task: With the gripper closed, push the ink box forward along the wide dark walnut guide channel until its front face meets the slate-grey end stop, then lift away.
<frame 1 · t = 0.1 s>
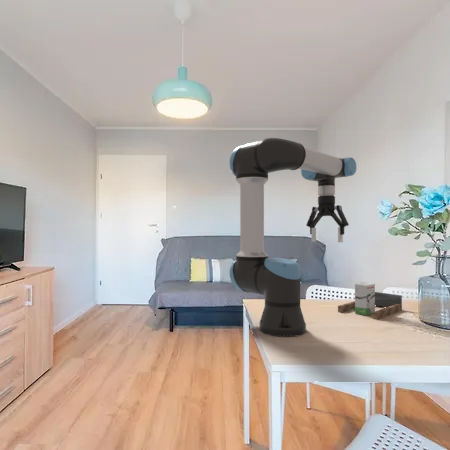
hand: (326, 241, 155), 28 cm above the table, fingers open, 13 cm apart
ink box: (365, 313, 136), on the table
guide channel: (369, 311, 138), on the table
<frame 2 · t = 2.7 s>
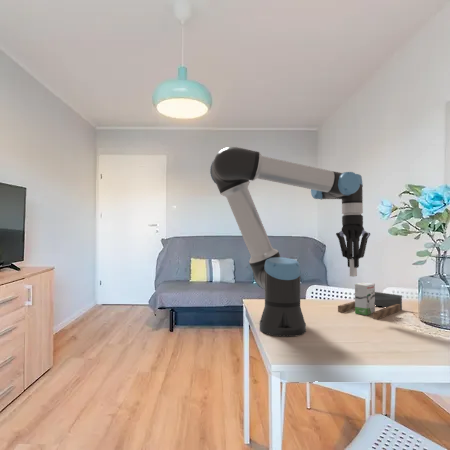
hand: (353, 276, 129), 16 cm above the table, fingers closed
nothing on the table moved.
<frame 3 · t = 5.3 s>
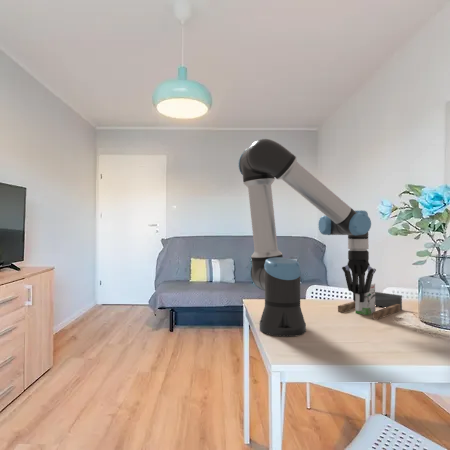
hand: (358, 310, 132), 2 cm above the table, fingers closed
ink box: (365, 313, 136), on the table, touching gripper
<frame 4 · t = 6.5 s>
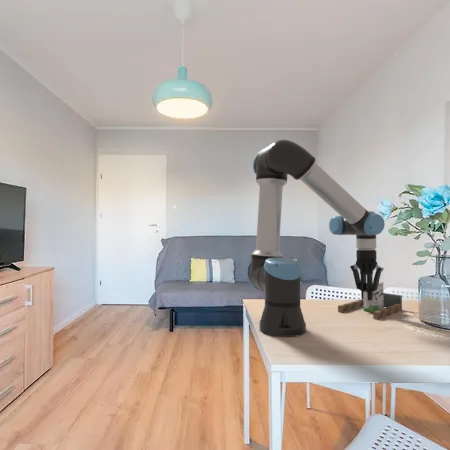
hand: (366, 307, 136), 2 cm above the table, fingers closed
ink box: (373, 310, 140), on the table, touching gripper
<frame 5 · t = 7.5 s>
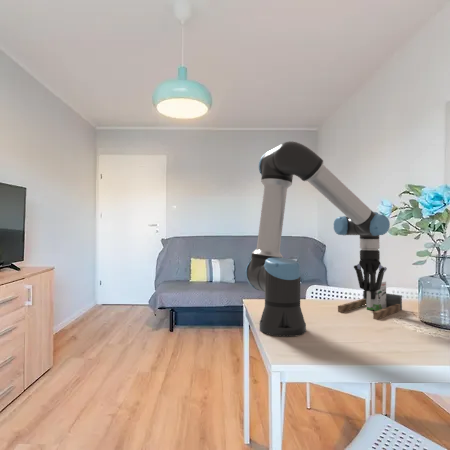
hand: (370, 306, 139), 2 cm above the table, fingers closed
ink box: (376, 309, 142), on the table, touching gripper
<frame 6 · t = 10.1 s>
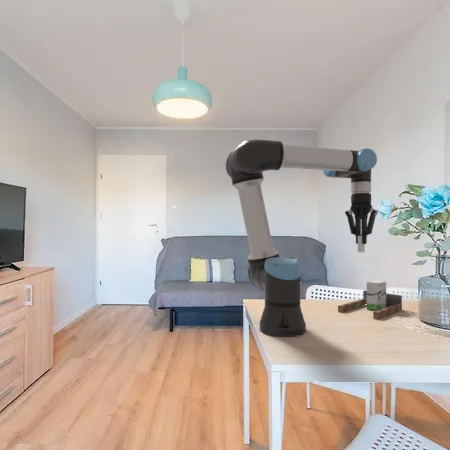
hand: (361, 252, 135), 24 cm above the table, fingers closed
ink box: (376, 309, 142), on the table
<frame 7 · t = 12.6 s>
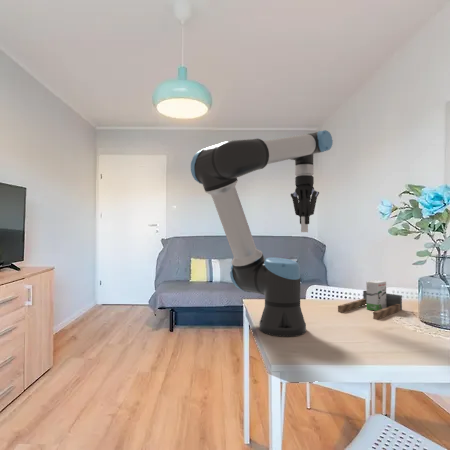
hand: (304, 232, 141), 32 cm above the table, fingers closed
nothing on the table moved.
at the end: ink box 0.5 cm from the target spot, on the table; ink box tilted 0° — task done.
